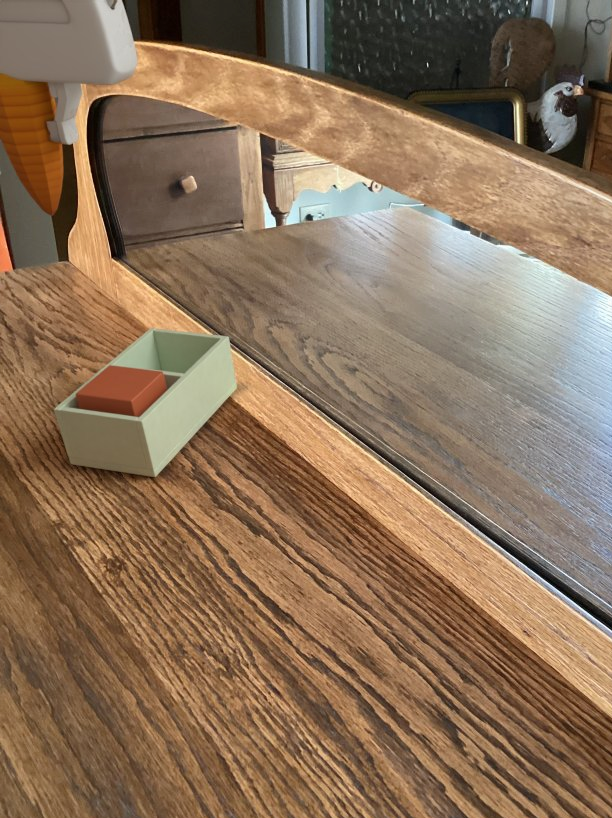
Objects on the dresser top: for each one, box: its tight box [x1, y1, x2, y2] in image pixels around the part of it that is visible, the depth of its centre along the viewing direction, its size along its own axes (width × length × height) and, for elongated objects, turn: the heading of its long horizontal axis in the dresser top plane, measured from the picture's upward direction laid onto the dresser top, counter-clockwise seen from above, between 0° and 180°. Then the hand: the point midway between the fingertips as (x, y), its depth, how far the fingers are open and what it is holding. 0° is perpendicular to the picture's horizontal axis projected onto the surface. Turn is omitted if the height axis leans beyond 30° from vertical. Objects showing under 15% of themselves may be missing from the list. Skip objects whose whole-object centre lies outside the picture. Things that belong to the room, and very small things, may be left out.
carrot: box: [0, 73, 64, 217], centre depth 70 cm, size 5×5×15 cm
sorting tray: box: [53, 327, 238, 478], centre depth 68 cm, size 7×14×5 cm, turn 163°
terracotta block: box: [76, 365, 167, 417], centre depth 65 cm, size 4×4×4 cm
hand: (32, 140), depth 71 cm, fingers closed on carrot, 5 cm apart
